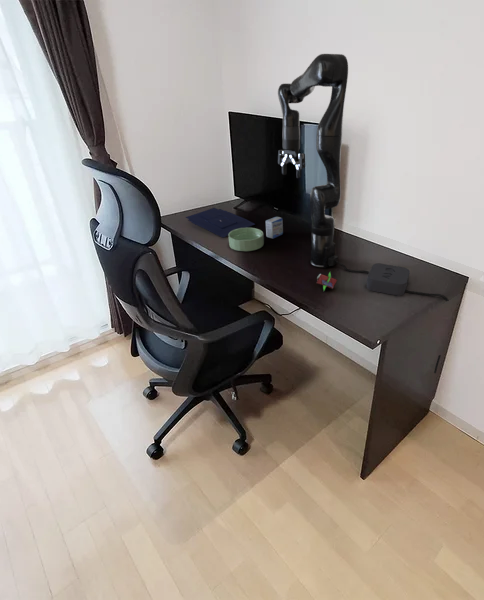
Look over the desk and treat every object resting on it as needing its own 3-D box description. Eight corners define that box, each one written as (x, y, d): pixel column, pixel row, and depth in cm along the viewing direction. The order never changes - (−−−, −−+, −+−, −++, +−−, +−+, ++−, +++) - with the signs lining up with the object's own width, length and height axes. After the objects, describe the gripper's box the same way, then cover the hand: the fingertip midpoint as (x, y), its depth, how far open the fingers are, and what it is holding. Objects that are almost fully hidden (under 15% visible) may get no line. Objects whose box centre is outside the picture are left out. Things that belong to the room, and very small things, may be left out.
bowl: (270, 244, 176) (270, 233, 173) (245, 254, 165) (244, 243, 162) (247, 235, 185) (247, 225, 182) (222, 245, 174) (221, 234, 171)
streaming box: (372, 273, 151) (374, 262, 148) (408, 280, 147) (410, 268, 144) (364, 289, 140) (366, 278, 137) (403, 297, 135) (405, 285, 133)
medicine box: (272, 239, 181) (272, 222, 177) (266, 236, 183) (265, 220, 179) (283, 234, 186) (282, 217, 182) (276, 232, 189) (275, 216, 184)
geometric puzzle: (339, 279, 142) (328, 264, 139) (341, 288, 136) (329, 272, 133) (324, 289, 144) (312, 274, 141) (325, 298, 138) (313, 283, 135)
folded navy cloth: (216, 211, 212) (216, 205, 210) (255, 228, 199) (256, 222, 197) (182, 223, 195) (182, 216, 193) (222, 242, 182) (222, 236, 180)
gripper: (273, 136, 159) (274, 175, 168) (297, 140, 151) (297, 180, 160) (285, 134, 164) (285, 172, 172) (309, 138, 156) (308, 177, 165)
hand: (291, 176), depth 166 cm, fingers open, 8 cm apart
